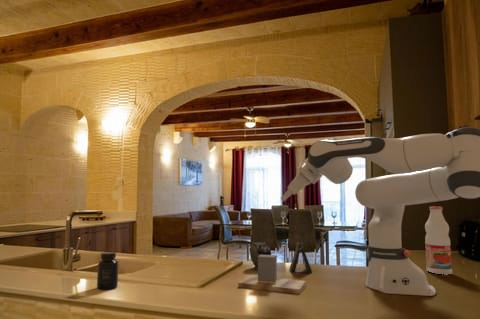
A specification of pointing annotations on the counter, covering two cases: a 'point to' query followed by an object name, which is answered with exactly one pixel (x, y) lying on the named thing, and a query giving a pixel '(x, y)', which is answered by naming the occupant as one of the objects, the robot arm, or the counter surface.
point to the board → (274, 285)
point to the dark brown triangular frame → (295, 260)
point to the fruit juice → (437, 243)
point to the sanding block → (267, 268)
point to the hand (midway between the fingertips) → (283, 198)
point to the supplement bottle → (107, 271)
